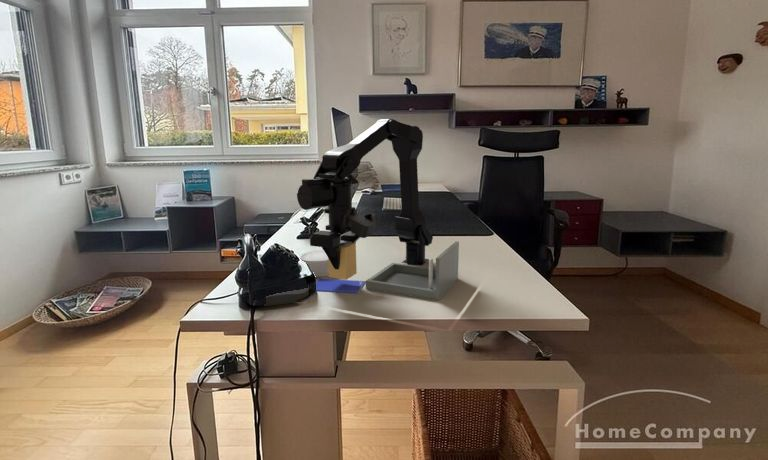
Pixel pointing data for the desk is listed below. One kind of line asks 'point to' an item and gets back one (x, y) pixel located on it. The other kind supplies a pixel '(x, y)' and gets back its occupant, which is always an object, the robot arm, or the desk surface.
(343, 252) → the block
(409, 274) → the case
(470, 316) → the desk surface
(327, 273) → the ramekin
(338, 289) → the hard drive
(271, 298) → the media streaming box
